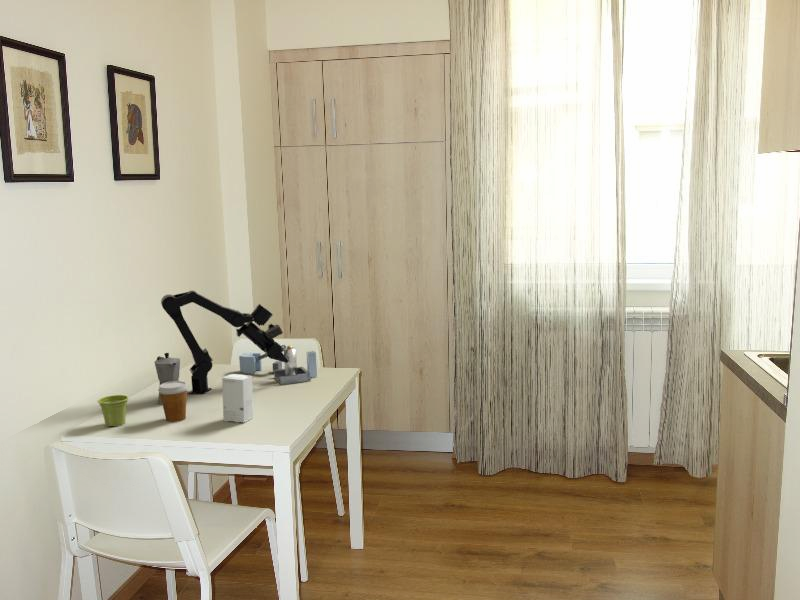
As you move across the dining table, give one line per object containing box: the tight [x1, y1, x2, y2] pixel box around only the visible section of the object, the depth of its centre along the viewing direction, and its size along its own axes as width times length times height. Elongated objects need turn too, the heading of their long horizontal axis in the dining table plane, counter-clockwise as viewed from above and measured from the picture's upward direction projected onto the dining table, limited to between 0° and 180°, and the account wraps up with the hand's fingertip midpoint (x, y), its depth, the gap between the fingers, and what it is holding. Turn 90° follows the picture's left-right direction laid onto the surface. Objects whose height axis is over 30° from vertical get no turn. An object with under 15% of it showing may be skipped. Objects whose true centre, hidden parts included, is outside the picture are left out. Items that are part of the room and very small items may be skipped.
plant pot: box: [97, 394, 129, 427], centre depth 241 cm, size 9×9×9 cm
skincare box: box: [221, 373, 254, 424], centre depth 240 cm, size 8×6×15 cm
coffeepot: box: [154, 352, 181, 405], centre depth 266 cm, size 15×9×18 cm, turn 41°
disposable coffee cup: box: [157, 380, 189, 423], centre depth 244 cm, size 10×10×12 cm
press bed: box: [273, 350, 318, 386], centre depth 290 cm, size 16×12×10 cm
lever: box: [255, 344, 287, 361], centre depth 301 cm, size 4×14×2 cm, turn 77°
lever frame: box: [238, 352, 283, 375], centre depth 303 cm, size 7×17×7 cm, turn 77°
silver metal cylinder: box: [283, 345, 298, 376], centre depth 289 cm, size 5×5×13 cm
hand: (284, 359), depth 288 cm, fingers open, 9 cm apart
